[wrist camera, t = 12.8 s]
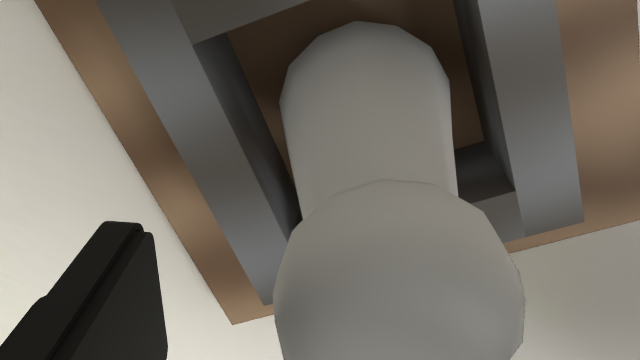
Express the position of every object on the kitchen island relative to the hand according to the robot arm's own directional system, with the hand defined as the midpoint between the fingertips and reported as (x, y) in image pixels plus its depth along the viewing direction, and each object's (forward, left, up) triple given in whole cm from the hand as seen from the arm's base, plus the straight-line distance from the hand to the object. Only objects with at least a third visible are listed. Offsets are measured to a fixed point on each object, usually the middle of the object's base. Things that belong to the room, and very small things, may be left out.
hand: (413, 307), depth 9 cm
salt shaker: (0, 0, -12) cm, 12 cm away
